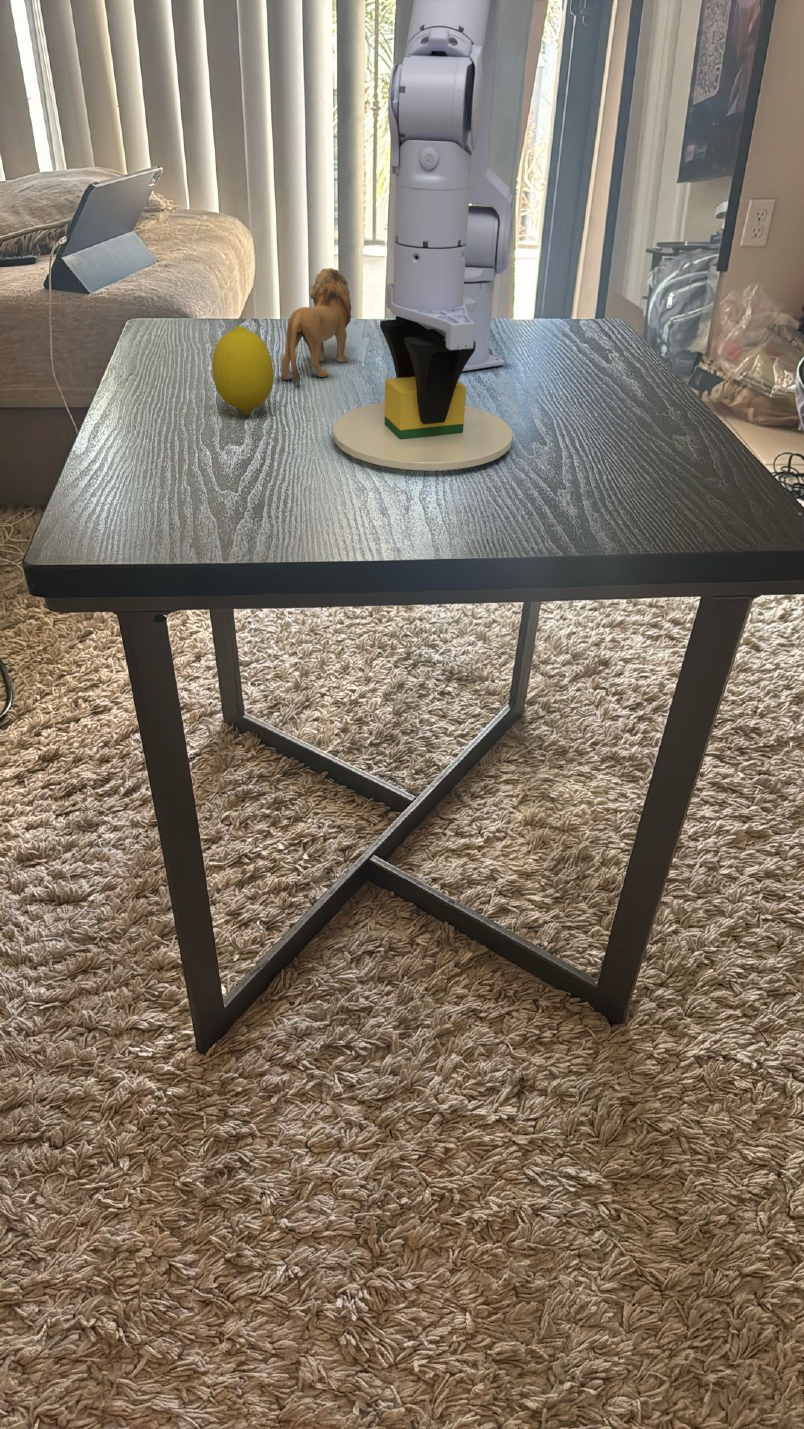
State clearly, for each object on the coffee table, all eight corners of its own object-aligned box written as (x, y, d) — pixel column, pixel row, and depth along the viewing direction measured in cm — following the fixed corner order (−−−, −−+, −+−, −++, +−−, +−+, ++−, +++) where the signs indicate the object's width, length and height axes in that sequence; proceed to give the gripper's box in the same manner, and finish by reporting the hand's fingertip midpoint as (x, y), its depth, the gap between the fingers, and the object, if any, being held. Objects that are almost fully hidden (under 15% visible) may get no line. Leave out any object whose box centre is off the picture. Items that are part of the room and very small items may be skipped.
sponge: (384, 424, 82) (384, 379, 79) (445, 418, 83) (448, 373, 81) (399, 439, 79) (401, 392, 76) (463, 432, 80) (466, 386, 78)
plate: (302, 429, 84) (301, 415, 83) (447, 404, 91) (448, 391, 90) (390, 491, 73) (390, 475, 72) (547, 457, 80) (549, 443, 79)
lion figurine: (313, 348, 105) (311, 263, 100) (358, 352, 105) (358, 266, 99) (273, 386, 94) (268, 291, 88) (323, 390, 93) (321, 296, 88)
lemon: (234, 402, 89) (226, 315, 85) (285, 410, 88) (280, 322, 83) (206, 419, 85) (196, 329, 80) (259, 428, 84) (253, 336, 79)
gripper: (516, 257, 68) (500, 437, 76) (441, 225, 79) (434, 385, 87) (429, 261, 66) (421, 445, 74) (364, 228, 77) (363, 391, 85)
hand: (423, 413), depth 80 cm, fingers closed on sponge, 4 cm apart
